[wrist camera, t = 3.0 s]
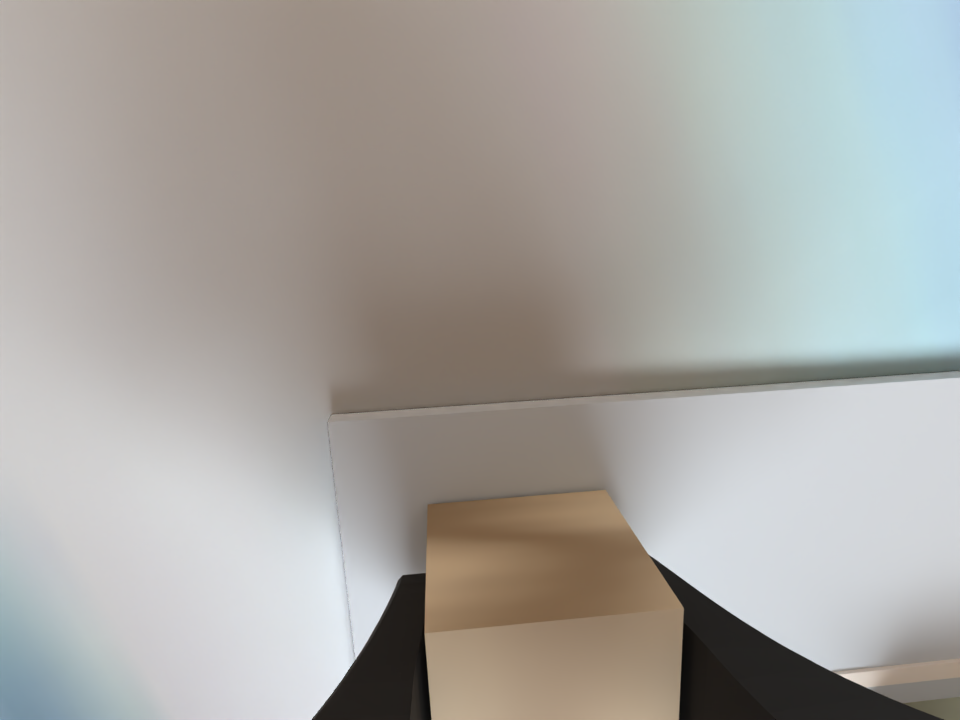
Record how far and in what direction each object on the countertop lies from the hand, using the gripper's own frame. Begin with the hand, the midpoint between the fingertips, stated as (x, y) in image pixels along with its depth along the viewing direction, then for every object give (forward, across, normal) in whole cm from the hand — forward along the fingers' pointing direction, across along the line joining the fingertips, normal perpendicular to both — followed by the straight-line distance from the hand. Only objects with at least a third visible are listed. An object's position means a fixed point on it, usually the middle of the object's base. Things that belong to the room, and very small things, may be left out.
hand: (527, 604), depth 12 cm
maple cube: (+1, 0, 0) cm, 1 cm away
